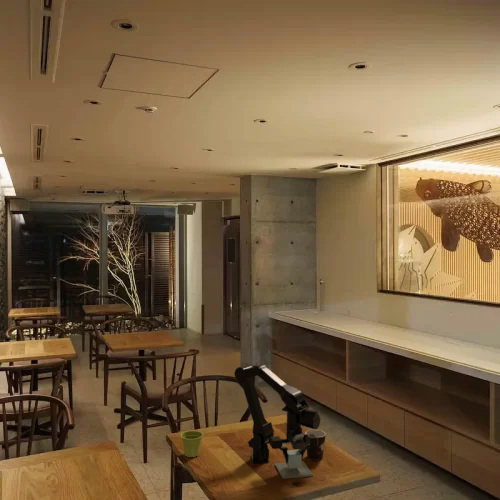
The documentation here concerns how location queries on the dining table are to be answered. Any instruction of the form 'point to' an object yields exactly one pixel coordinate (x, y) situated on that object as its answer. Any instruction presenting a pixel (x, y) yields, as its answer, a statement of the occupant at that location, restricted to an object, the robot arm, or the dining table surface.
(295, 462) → the cube
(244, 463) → the dining table surface
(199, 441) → the plant pot
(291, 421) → the robot arm
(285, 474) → the coaster
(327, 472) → the dining table surface
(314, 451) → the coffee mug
